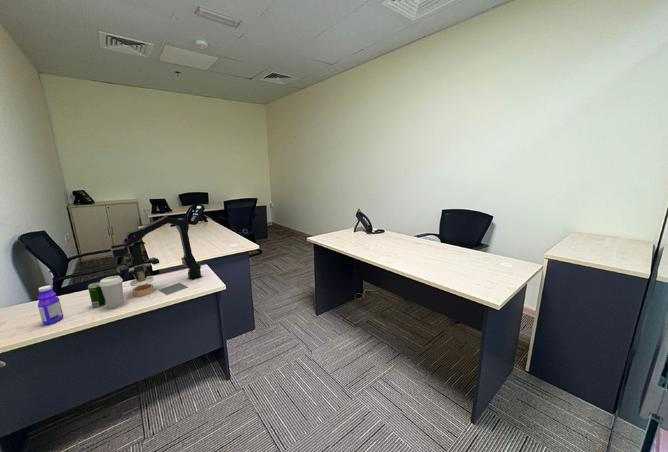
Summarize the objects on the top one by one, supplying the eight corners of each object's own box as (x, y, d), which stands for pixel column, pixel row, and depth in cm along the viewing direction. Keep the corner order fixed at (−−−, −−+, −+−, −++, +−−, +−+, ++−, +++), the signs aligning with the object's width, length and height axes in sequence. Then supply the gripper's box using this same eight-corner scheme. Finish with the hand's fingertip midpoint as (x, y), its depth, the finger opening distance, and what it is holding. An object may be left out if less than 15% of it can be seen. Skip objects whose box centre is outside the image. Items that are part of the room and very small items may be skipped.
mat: (179, 283, 163) (179, 282, 163) (188, 287, 156) (188, 287, 156) (157, 290, 154) (157, 289, 154) (166, 295, 147) (166, 295, 147)
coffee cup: (132, 301, 142) (126, 275, 139) (116, 310, 133) (110, 283, 129) (116, 300, 143) (110, 275, 140) (99, 310, 134) (92, 282, 130)
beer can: (104, 306, 137) (99, 285, 135) (91, 308, 135) (85, 287, 132) (107, 301, 142) (102, 281, 139) (94, 304, 140) (89, 283, 137)
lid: (149, 276, 157) (147, 267, 156) (156, 280, 151) (155, 271, 149) (127, 283, 148) (125, 273, 147) (134, 287, 142) (132, 278, 141)
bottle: (54, 317, 128) (45, 284, 124) (67, 316, 128) (58, 283, 125) (39, 326, 121) (29, 291, 117) (53, 325, 121) (43, 290, 118)
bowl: (150, 288, 158) (149, 282, 157) (156, 292, 152) (155, 286, 151) (131, 294, 150) (130, 288, 149) (137, 298, 145) (136, 292, 144)
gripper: (149, 246, 158) (154, 271, 161) (110, 255, 143) (116, 281, 147) (157, 249, 151) (162, 274, 155) (117, 259, 137) (123, 286, 140)
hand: (141, 279), depth 149 cm, fingers closed on lid, 4 cm apart
